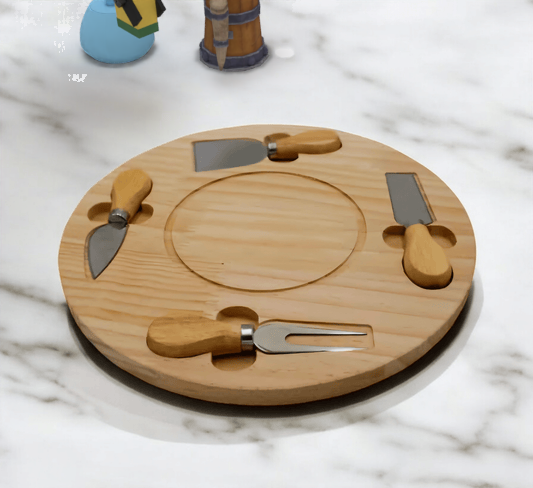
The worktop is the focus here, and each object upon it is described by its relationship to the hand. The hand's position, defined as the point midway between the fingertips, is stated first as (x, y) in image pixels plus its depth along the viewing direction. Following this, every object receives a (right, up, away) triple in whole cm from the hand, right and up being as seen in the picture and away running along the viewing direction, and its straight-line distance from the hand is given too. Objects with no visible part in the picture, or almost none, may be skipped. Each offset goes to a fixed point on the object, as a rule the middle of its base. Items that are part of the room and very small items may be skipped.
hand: (149, 17), depth 105 cm
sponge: (-3, 0, +4) cm, 5 cm away
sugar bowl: (-12, +4, +30) cm, 32 cm away
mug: (+12, +1, +27) cm, 29 cm away
